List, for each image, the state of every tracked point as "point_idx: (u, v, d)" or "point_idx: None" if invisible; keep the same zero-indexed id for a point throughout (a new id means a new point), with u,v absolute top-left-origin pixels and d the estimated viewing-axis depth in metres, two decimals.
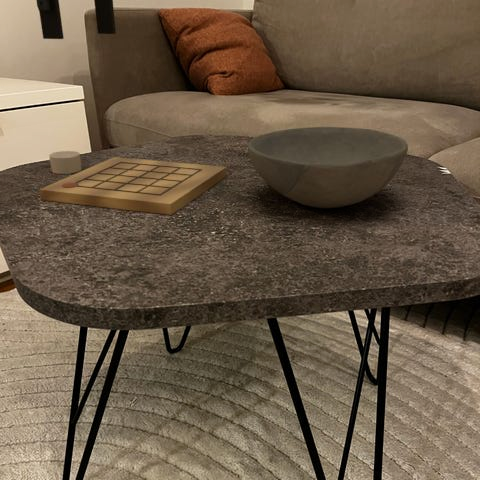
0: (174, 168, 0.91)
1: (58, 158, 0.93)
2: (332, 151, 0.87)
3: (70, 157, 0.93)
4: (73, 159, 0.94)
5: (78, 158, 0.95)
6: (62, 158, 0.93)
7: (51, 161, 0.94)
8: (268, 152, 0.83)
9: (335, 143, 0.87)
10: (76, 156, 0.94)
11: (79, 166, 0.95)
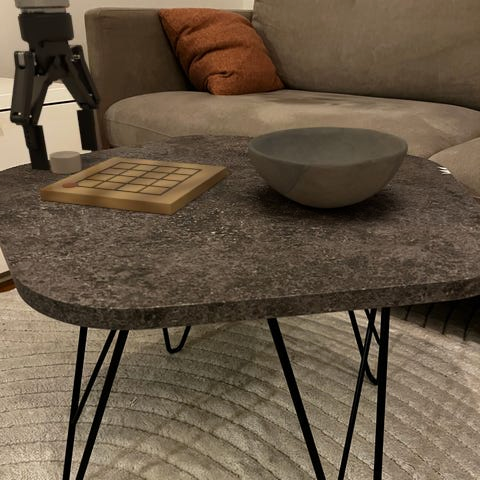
0: (174, 168, 0.91)
1: (58, 158, 0.93)
2: (332, 151, 0.87)
3: (70, 157, 0.93)
4: (73, 159, 0.94)
5: (78, 158, 0.95)
6: (62, 158, 0.93)
7: (51, 161, 0.94)
8: (268, 152, 0.83)
9: (335, 143, 0.87)
10: (76, 156, 0.94)
11: (79, 166, 0.95)
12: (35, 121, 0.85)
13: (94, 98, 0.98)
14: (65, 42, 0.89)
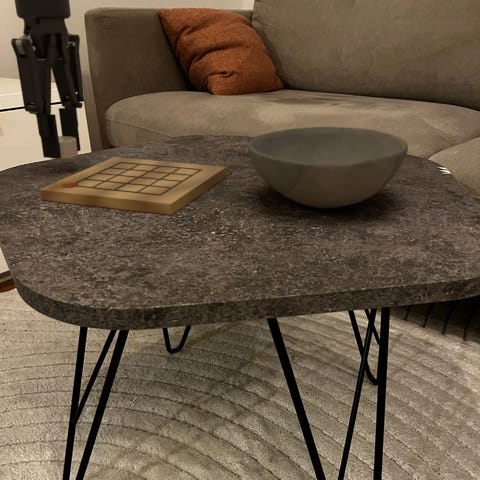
0: (174, 168, 0.91)
1: None
2: (332, 151, 0.87)
3: (66, 142, 0.92)
4: (69, 144, 0.93)
5: (74, 143, 0.94)
6: None
7: None
8: (268, 152, 0.83)
9: (335, 143, 0.87)
10: (72, 141, 0.93)
11: (75, 151, 0.94)
12: (48, 110, 0.88)
13: (78, 94, 0.95)
14: (61, 20, 0.88)
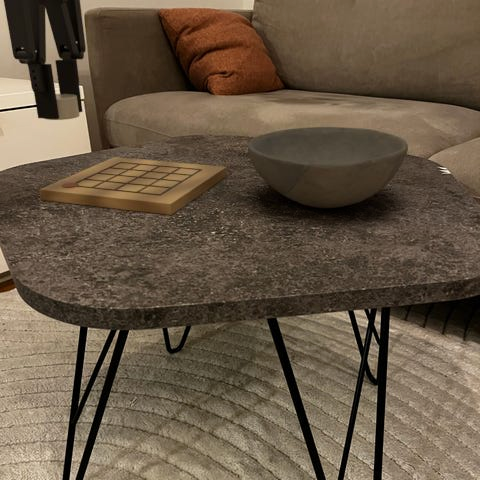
0: (174, 168, 0.91)
1: None
2: (332, 151, 0.87)
3: (65, 99, 0.77)
4: (69, 101, 0.77)
5: (75, 101, 0.78)
6: None
7: None
8: (268, 152, 0.83)
9: (335, 143, 0.87)
10: (72, 98, 0.77)
11: (76, 111, 0.78)
12: (43, 58, 0.72)
13: (78, 43, 0.79)
14: None
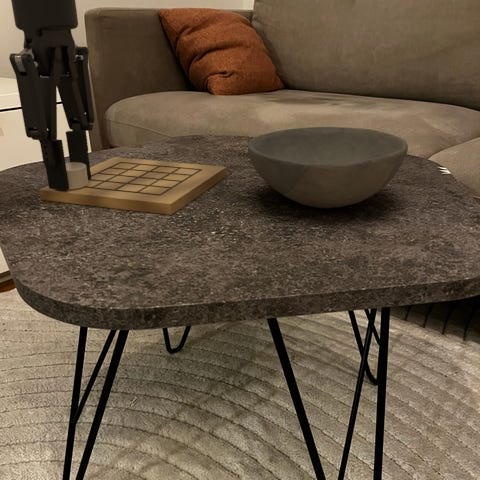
0: (174, 168, 0.91)
1: None
2: (332, 151, 0.87)
3: (75, 170, 0.80)
4: (78, 172, 0.80)
5: (84, 171, 0.81)
6: None
7: None
8: (268, 152, 0.83)
9: (335, 143, 0.87)
10: (82, 168, 0.81)
11: (85, 180, 0.82)
12: (54, 136, 0.76)
13: (87, 114, 0.82)
14: (67, 31, 0.75)
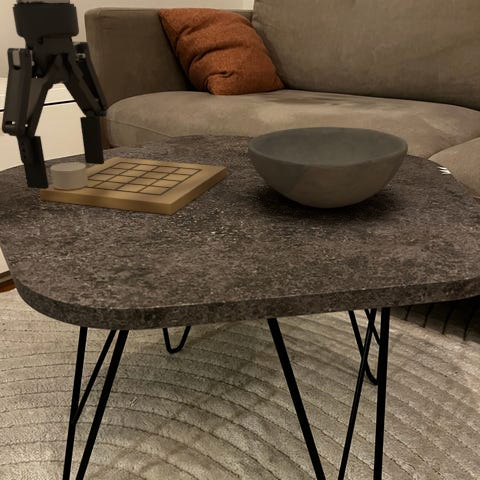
0: (174, 168, 0.91)
1: (61, 171, 0.80)
2: (332, 151, 0.87)
3: (75, 170, 0.80)
4: (78, 172, 0.80)
5: (84, 171, 0.81)
6: (65, 171, 0.79)
7: (52, 174, 0.80)
8: (268, 152, 0.83)
9: (335, 143, 0.87)
10: (82, 169, 0.81)
11: (85, 180, 0.82)
12: (32, 131, 0.72)
13: (101, 104, 0.85)
14: (68, 38, 0.76)
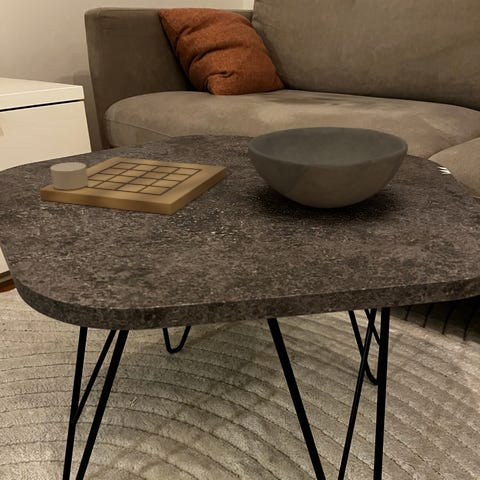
0: (174, 168, 0.91)
1: (61, 171, 0.80)
2: (332, 151, 0.87)
3: (75, 170, 0.80)
4: (78, 172, 0.80)
5: (84, 171, 0.81)
6: (65, 171, 0.79)
7: (52, 174, 0.80)
8: (268, 152, 0.83)
9: (335, 143, 0.87)
10: (82, 169, 0.81)
11: (85, 180, 0.82)
12: None
13: None
14: None
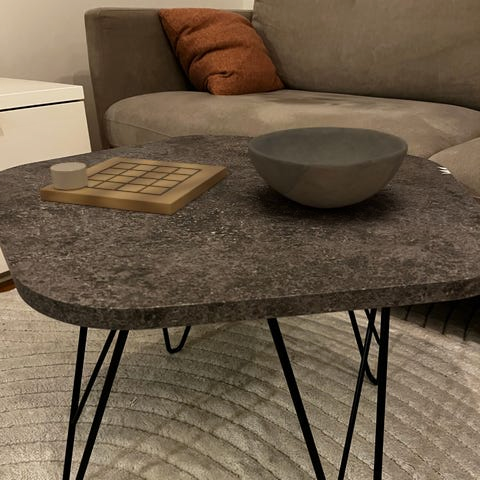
0: (174, 168, 0.91)
1: (61, 171, 0.80)
2: (332, 151, 0.87)
3: (75, 170, 0.80)
4: (78, 172, 0.80)
5: (84, 171, 0.81)
6: (65, 171, 0.79)
7: (52, 174, 0.80)
8: (268, 152, 0.83)
9: (335, 143, 0.87)
10: (82, 169, 0.81)
11: (85, 180, 0.82)
12: None
13: None
14: None
